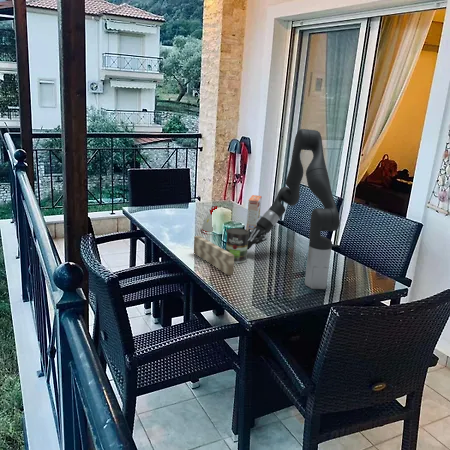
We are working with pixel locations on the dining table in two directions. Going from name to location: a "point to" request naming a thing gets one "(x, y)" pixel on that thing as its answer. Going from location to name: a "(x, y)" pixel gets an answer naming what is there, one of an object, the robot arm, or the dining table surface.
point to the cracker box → (253, 211)
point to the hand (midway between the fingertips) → (246, 248)
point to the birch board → (214, 255)
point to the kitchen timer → (208, 221)
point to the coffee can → (237, 244)
